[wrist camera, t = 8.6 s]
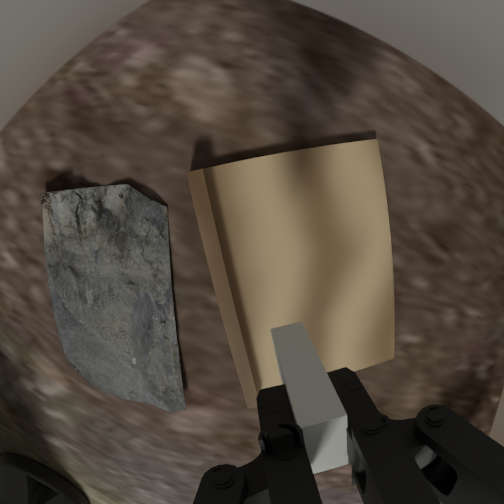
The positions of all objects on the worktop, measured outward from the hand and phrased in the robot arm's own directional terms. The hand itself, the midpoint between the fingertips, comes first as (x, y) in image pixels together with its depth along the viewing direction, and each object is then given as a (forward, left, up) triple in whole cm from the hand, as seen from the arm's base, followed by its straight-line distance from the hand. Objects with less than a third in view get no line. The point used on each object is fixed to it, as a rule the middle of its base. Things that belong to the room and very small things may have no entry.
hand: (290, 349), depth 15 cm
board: (+4, 0, -8) cm, 9 cm away
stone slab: (-6, 0, -8) cm, 10 cm away
